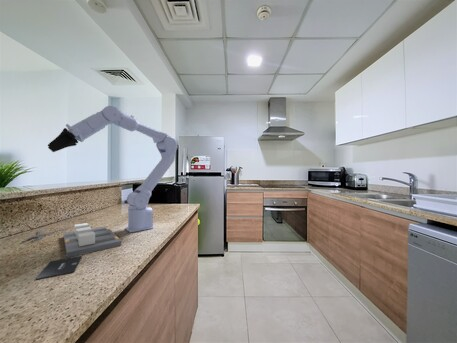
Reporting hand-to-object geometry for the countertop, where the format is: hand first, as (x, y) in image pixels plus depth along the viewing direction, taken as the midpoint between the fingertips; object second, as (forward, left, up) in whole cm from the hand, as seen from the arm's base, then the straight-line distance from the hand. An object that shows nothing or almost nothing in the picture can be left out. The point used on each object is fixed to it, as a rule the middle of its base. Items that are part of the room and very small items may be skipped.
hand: (50, 148), depth 64 cm
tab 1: (-9, -3, -31) cm, 32 cm away
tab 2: (-9, +4, -31) cm, 32 cm away
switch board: (-11, +4, -32) cm, 34 cm away
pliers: (0, -17, -33) cm, 37 cm away
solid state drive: (-2, +22, -33) cm, 39 cm away
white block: (-9, +12, -31) cm, 34 cm away
